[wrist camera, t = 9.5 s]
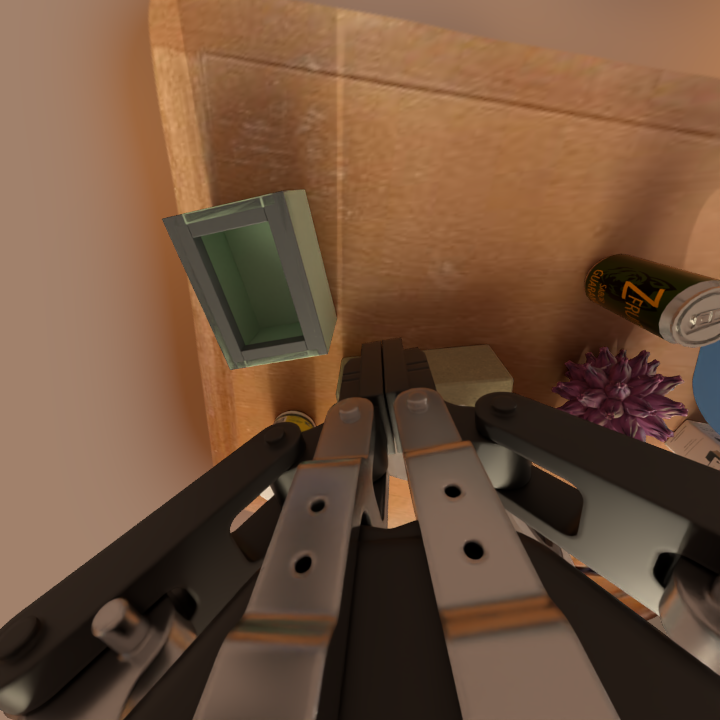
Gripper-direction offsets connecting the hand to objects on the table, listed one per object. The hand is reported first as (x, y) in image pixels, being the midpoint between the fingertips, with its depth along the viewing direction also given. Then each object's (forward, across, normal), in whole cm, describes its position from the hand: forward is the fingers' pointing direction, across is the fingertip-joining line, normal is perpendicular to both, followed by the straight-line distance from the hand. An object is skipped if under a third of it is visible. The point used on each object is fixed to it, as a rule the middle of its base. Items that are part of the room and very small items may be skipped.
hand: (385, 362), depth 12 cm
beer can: (+25, -24, +8) cm, 36 cm away
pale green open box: (+21, +6, 0) cm, 21 cm away
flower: (+25, -23, +20) cm, 40 cm away
